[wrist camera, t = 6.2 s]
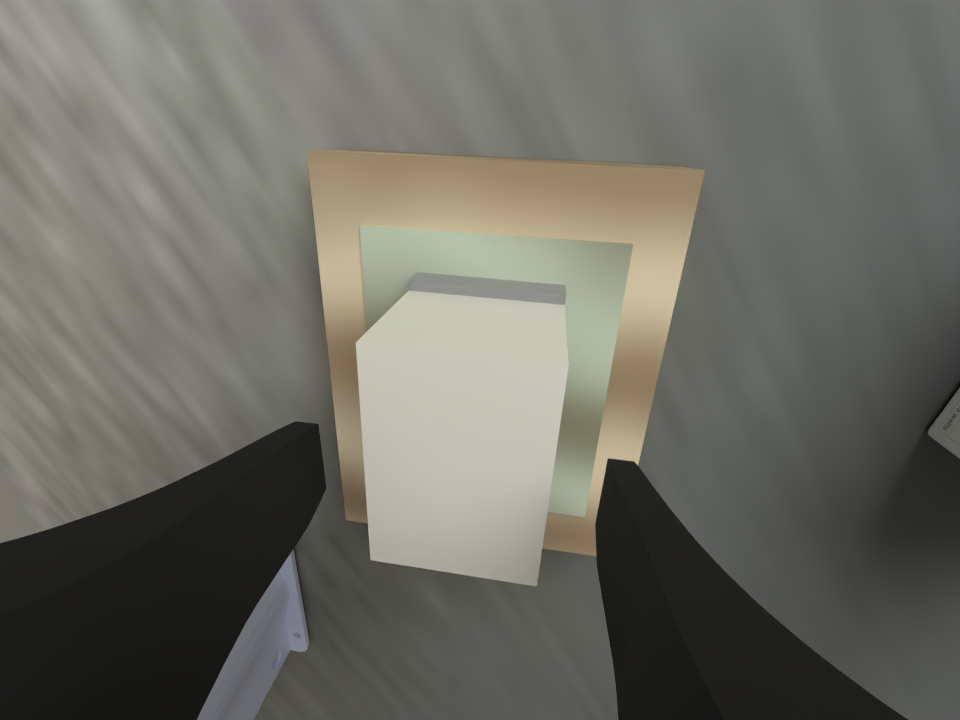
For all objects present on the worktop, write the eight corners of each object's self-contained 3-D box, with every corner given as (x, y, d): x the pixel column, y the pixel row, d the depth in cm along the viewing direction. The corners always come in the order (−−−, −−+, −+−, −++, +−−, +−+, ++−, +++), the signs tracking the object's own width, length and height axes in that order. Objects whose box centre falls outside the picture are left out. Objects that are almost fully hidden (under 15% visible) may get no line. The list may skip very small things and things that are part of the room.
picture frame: (608, 505, 21) (617, 562, 18) (371, 474, 22) (344, 522, 19) (677, 166, 15) (706, 170, 12) (348, 150, 16) (304, 150, 13)
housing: (540, 474, 17) (535, 594, 12) (418, 458, 17) (370, 568, 13) (565, 285, 14) (571, 351, 9) (417, 272, 14) (354, 329, 10)
